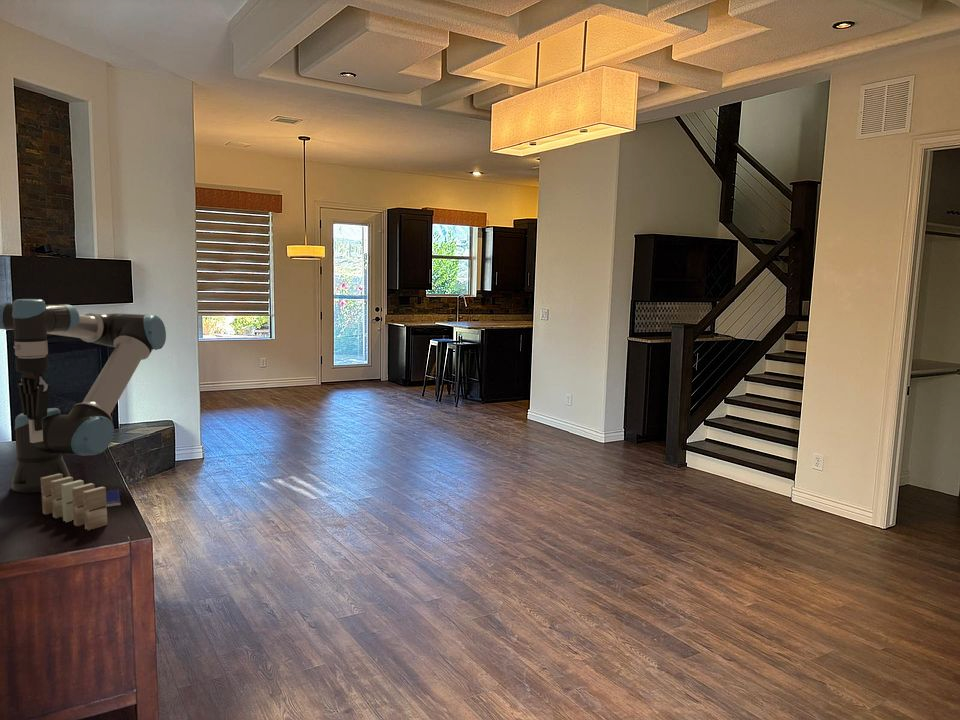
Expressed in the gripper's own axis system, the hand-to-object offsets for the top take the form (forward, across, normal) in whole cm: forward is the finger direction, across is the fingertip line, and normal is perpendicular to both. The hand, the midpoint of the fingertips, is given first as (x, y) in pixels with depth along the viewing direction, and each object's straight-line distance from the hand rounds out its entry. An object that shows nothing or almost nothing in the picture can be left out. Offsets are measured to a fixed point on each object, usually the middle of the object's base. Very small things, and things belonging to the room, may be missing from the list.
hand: (36, 441), depth 193 cm
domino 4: (+19, +21, 0) cm, 28 cm away
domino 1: (+19, +6, 0) cm, 20 cm away
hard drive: (+19, +8, +13) cm, 25 cm away
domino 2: (+19, +11, 0) cm, 22 cm away
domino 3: (+19, +16, 0) cm, 25 cm away
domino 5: (+19, +26, 0) cm, 32 cm away
